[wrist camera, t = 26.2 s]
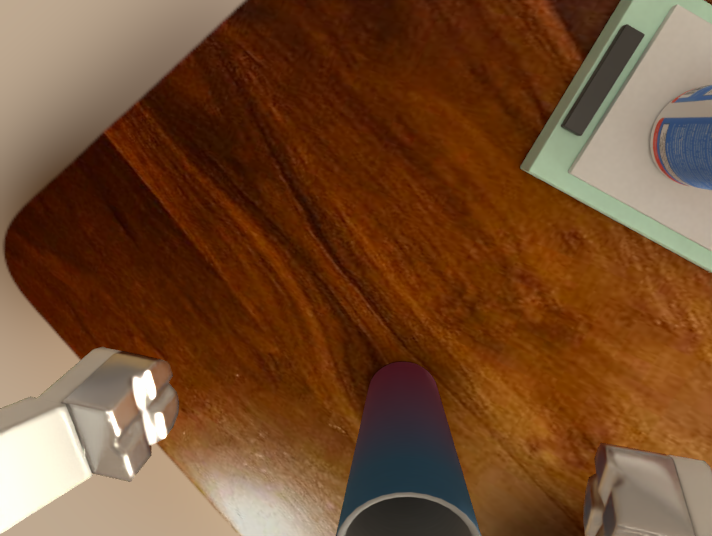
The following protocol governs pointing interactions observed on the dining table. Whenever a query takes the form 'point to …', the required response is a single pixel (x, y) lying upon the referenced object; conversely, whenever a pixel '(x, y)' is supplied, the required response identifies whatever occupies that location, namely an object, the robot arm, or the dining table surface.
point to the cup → (405, 463)
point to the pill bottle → (685, 139)
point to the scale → (633, 124)
